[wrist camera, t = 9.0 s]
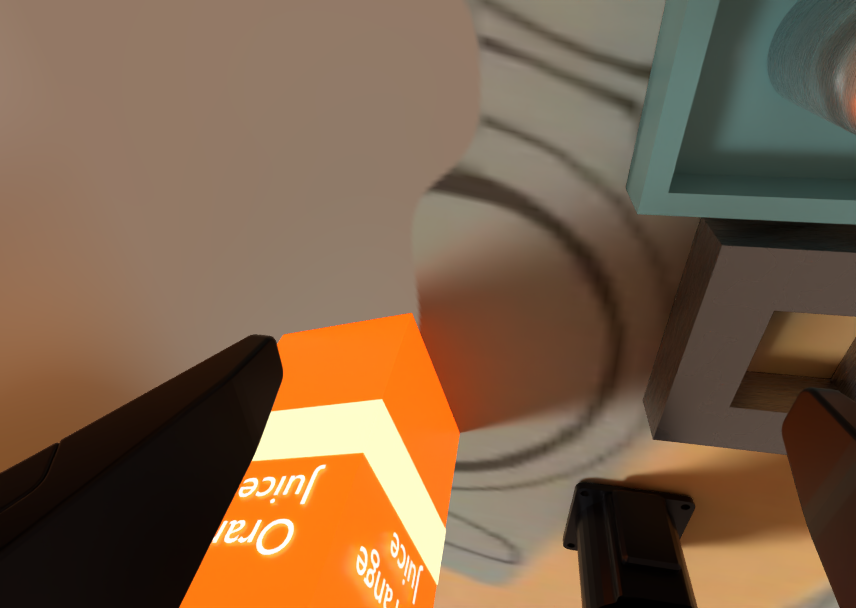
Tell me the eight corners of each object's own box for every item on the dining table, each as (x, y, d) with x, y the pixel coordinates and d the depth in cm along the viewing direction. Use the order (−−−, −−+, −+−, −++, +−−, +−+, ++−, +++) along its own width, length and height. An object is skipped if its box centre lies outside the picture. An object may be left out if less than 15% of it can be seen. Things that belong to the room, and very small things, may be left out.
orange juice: (344, 443, 31) (132, 980, 14) (280, 333, 26) (-130, 926, 10) (463, 433, 28) (372, 1067, 12) (415, 310, 24) (165, 1045, 7)
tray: (921, 199, 17) (974, 230, 15) (625, 187, 19) (637, 214, 17) (1153, -200, 12) (1286, -236, 9) (702, -169, 13) (734, -195, 11)
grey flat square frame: (866, 423, 23) (898, 467, 21) (642, 400, 24) (653, 439, 22) (1002, 230, 17) (1065, 264, 15) (701, 216, 19) (722, 245, 17)
